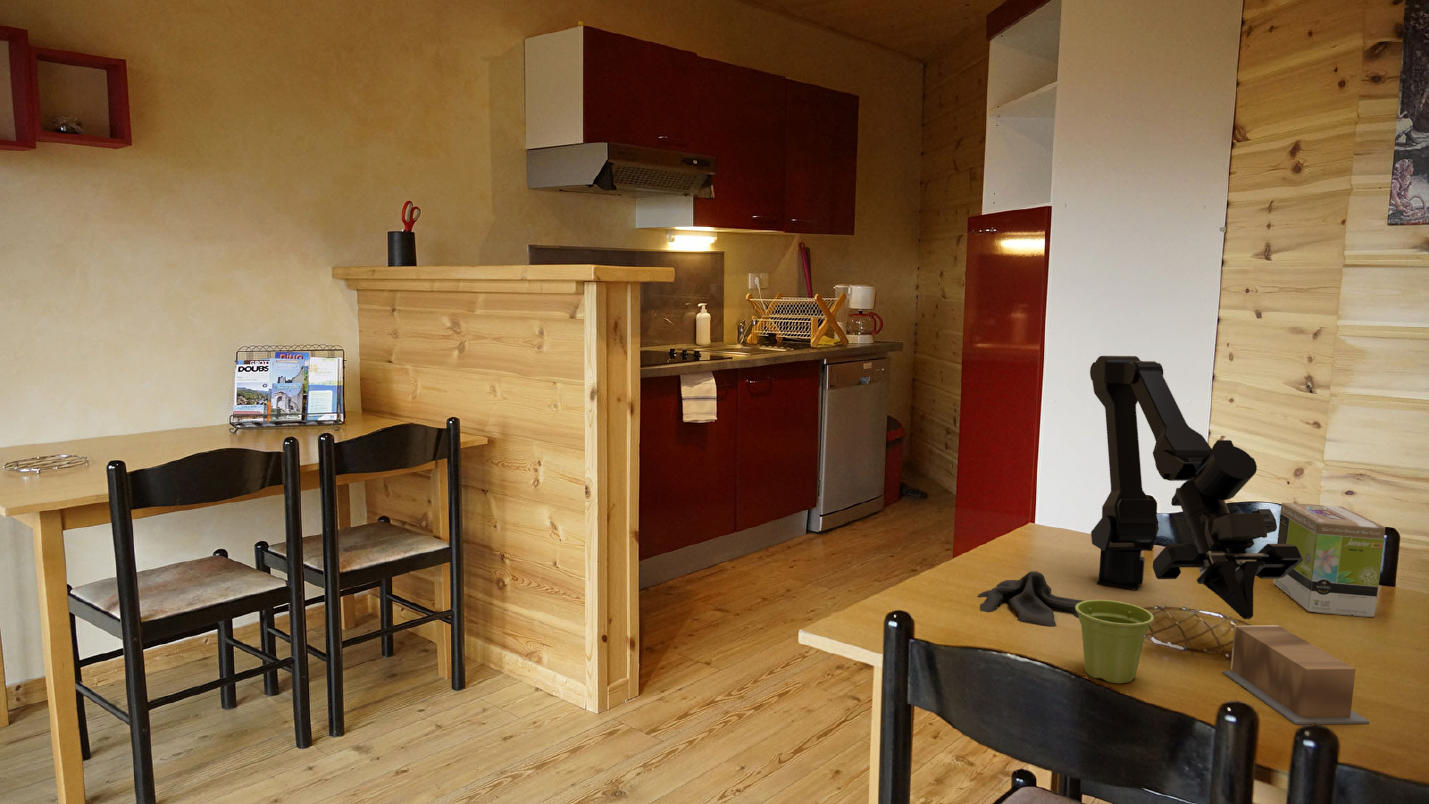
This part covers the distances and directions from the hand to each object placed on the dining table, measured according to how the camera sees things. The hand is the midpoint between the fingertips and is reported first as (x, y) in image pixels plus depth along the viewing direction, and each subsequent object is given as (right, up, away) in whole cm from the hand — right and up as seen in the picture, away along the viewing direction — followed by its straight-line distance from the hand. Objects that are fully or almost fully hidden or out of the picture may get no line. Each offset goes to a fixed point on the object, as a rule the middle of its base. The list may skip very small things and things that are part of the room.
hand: (1248, 618), depth 126 cm
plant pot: (-20, -7, -2) cm, 21 cm away
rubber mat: (0, -8, -9) cm, 12 cm away
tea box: (+28, -4, +28) cm, 40 cm away
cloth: (-22, -4, +24) cm, 33 cm away
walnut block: (0, -4, -1) cm, 4 cm away
